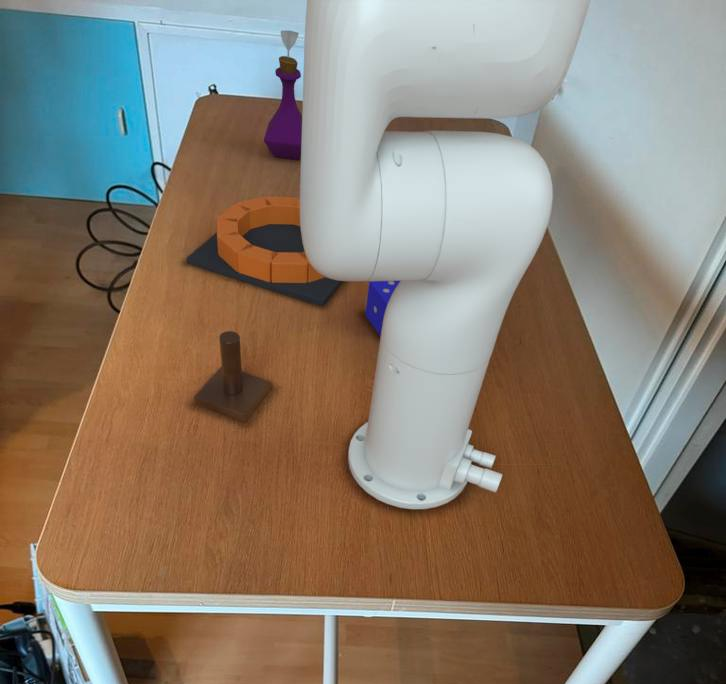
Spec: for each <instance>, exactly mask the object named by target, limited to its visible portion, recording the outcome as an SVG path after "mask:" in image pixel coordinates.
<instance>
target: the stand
mask: <svg viewBox="0 0 726 684" xmlns="http://www.w3.org/2000/svg"><path fill="white" fill-rule="evenodd" d="M218 338H219V350H220V361H221V366H220V367H219V369H218V370H217V371H216V372H215V373H214V374H213V375H212V376H211V377H210V378H209V380H208V381H206V383H205V384H204V385H203V386H202V388H200V390H198V392H197V393H196V394H195V395H194V397H193V399H194V405H195V406H198V407H200V408H203V409H206V410H208V411H211V412H214V413H216V414H218V415H222V416H225V417H228V418H230V419H233V420H236V421H239V422H241V423H243V424H246V423H247V422H248V420H249V419H250V417H251V416H252V415H253V414H254V412H255V411H256V409H257V408H258V407H259V406H260V404H261V403H262V402H263V400H265V398H266V397H267V395H268V394H269V393H270V392H271V390H272V382H271V381H270V380H266V379H265V378H261V377H258V376H255V375H252V374H249V373H246V372H243V369H242V352H241V351H242V350H241V349H242V348H241V337H240V334H239V333H238V332H235V331H232V330H227V331H223V332H222V333H220V335H219V336H218Z"/></svg>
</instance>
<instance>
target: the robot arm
mask: <svg viewBox="0 0 726 684" xmlns="http://www.w3.org/2000/svg"><path fill="white" fill-rule="evenodd" d="M590 3H591V0H306V9H305V22H304V23H305V24H304V25H305V26H304V42H303V43H304V44H303V46H304V47H303V48H304V49H303V74H302V75H303V76H302V106H301V107H302V109H301V110H302V112H301V114H302V140H301V158H300V174H299V175H300V176H299V179H300V180H299V198H300V228H301V235H302V242H303V246H304V250H305V253H306V256H307V258H308V260H309V262H310V264H311V265H312V267H313V268H314V269H315V270H316V271H317V272H318V273H320V274H321V275H323V276H325V277H327V278H329V279H333V280H338V281H343V282H366V283H367V282H368V283H369V282H370V281H400V282H399V284H398V285H397V287H396V288H395V290H394V292H393V294H392V296H391V298H390V300H389V302H388V304H387V307H386V310H385V314H384V318H383V325H382V331H381V336H380V338H379V346H378V352H377V358H376V365H375V373H374V380H373V384H372V385H373V386H372V392H371V399H370V400H371V401H370V407H369V412H368V419H367V420H368V421H366V422H365V423H364V424H363V425H361V426H360V427H359V428H358V429H357V430H356V431H355V432H354V433H353V435H352V437H351V438H350V442H349V447H348V453H347V454H348V455H347V462H348V463H347V464H348V468H349V471H350V473H351V475H352V477H353V479H354V480H355V481H356V483H357V484H358V486H359V487H360V488H361V489H362V490H364V492H366V494H368V495H370V496H372V497H373V498H374V499H376V500H378V501H380V502H382V503H384V504H386V505H390V506H392V507H396V508H400V509H407V510H428V509H433V508H438V507H441V506H443V505H446V504H448V503H449V502H451V501H453V500H454V499H456V498H457V497H458V496H459V495H460V494H461V493H462V492H463V491H464V490H465V487H466V486H467V484H468V483H470V484H473V485H475V486H478V488H481V489H484V490H486V491H489V492H493V493H494V494H497V491H498V489H499V486H500V483H501V481H502V477H503V473H500V472H497V471H495V470H492V468H493V465H494V462H495V460H496V456H497V455H495V454H491V453H489V452H485V451H481V450H478V449H475V448H474V447H475V446H474V445H472V444H470V440H471V437H472V434H473V431H472V429H469V428H470V423H471V421H472V418H473V414H474V412H475V407H476V405H477V402H478V399H479V395H480V392H481V388H482V386H483V382H484V379H485V375H486V373H487V370H488V366H489V363H490V359H491V357H492V354H493V352H494V349H495V345H496V342H497V339H498V335H499V333H500V330H501V326H502V324H503V321H504V318H505V315H506V313H507V310H508V308H509V306H510V303H511V300H512V299H513V297H514V294H515V292H516V290H517V288H518V286H519V284H520V282H521V281H522V278H523V276H524V275H525V273H526V271H527V269H528V268H529V266H530V264H531V263H532V262H533V259H534V257H535V255H536V254H537V251H538V249H539V248H540V246H541V244H542V241H543V239H544V237H545V234H546V231H547V228H548V226H549V222H550V218H551V214H552V210H553V209H552V208H553V200H554V192H553V191H554V189H553V182H552V176H551V172H550V170H549V168H548V165H547V163H546V161H545V160H544V158H543V157H542V155H541V154H540V153H539V151H537V149H535V148H534V147H533V146H532V145H530V144H529V143H527V142H525V141H523V140H521V139H518V138H516V137H514V136H510V135H505V134H502V133H496V132H488V131H487V132H486V131H467V130H466V131H465V130H464V131H463V130H423V131H401V130H400V131H397V130H395V131H394V130H393V131H392V130H386V129H387V127H388V126H389V125H390V123H391V122H392V121H393V120H394V119H398V118H432V119H433V118H434V119H435V118H436V119H438V118H441V119H509V118H519V117H523V116H527V115H532V114H534V113H536V112H539V111H540V110H543V108H545V107H546V106H547V105H548V104H550V102H551V101H552V100H553V99H554V98H555V96H556V94H557V93H558V92H559V91H560V89H561V88H562V87H561V86H562V85H563V83H564V80H565V78H566V77H567V75H568V72H569V69H570V67H571V64H572V60H573V58H574V55H575V52H576V49H577V47H578V46H577V45H578V42H579V39H580V36H581V33H582V31H583V28H584V24H585V21H586V17H587V14H588V11H589V8H590ZM472 463H475V464H479V466H477V465H474V464H472ZM481 466H483V467H485V468H483V467H481Z"/></svg>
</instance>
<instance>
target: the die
mask: <svg viewBox="0 0 726 684" xmlns="http://www.w3.org/2000/svg"><path fill="white" fill-rule="evenodd" d="M399 282H400V281H370V282H368V289H367V297H366V298H367V299H366V305H365V306H366V307H365V313H364V314H365V315H364V316H365V317H366V318H367V320H368V321H369V323H370V324H371V325H372V327H373V328H374V329H375V331H376V332H377V334H378V335H379V336H380V337H381V331H382V325H383V318H384V314H385V310H386V307H387V304H388V302H389V300H390V298H391V296H392V294H393V292H394V290H395V288H396V287H397V285H398V284H399Z"/></svg>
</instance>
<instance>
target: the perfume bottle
mask: <svg viewBox="0 0 726 684" xmlns="http://www.w3.org/2000/svg"><path fill="white" fill-rule="evenodd" d="M299 34H300V32H297V31H294V30H293V31H292V30H280V38H281V42H282V43H283V45H284V47H285V48H286V51H287V55H282V56H279V57H278V62H279V67H277V68H276V69H275V72H274V73H275V76H276V77H278V79H279V80H280V82H281V84H282V85H281V86H282V87H281V89H282V90H281V100H280V103H279V107H278V108H277V110H276V111H275V113H274V114H273V116H272V117H271V119H270V120H269V122H268V124H267V128H266V131H265V134H264V138H263V142H264V143H265V145H266V147H267V148H268V149H269V151H270V153H271V154H272V155H273V157H274V158H276V159H285V160H291V161H292V160H294V161H299V160H301V140H302V112H301V111H300V109H299V108H298V107H299V106H298V105H297V102H296V97H295V84H296V82H297V81H298V80H300V78H301V77H302V74H301V70H299V69H298V61H297V60H296V59H295V58H294V57H292V56H290V50H291V49H292V48H293V47H294V45H296V42H297V40H298V38H299Z"/></svg>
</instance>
